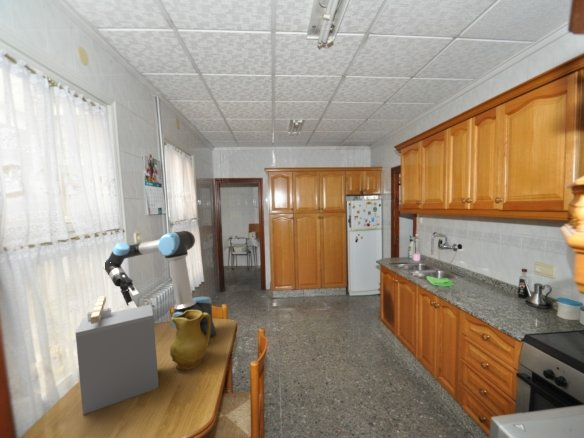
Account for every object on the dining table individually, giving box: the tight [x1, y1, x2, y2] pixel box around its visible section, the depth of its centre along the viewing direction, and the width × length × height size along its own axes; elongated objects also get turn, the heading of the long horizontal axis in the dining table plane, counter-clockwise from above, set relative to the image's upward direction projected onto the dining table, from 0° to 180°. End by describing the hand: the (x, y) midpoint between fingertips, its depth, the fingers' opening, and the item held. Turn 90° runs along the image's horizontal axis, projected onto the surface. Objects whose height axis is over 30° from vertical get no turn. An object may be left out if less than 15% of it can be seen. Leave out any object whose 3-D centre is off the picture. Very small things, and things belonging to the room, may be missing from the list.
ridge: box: [86, 307, 112, 321], centre depth 113 cm, size 2×8×3 cm, turn 121°
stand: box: [75, 303, 160, 416], centre depth 113 cm, size 16×26×32 cm, turn 121°
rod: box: [91, 295, 107, 324], centre depth 113 cm, size 30×2×2 cm, turn 31°
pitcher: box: [169, 310, 211, 371], centre depth 131 cm, size 17×19×25 cm
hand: (136, 302), depth 144 cm, fingers open, 13 cm apart
